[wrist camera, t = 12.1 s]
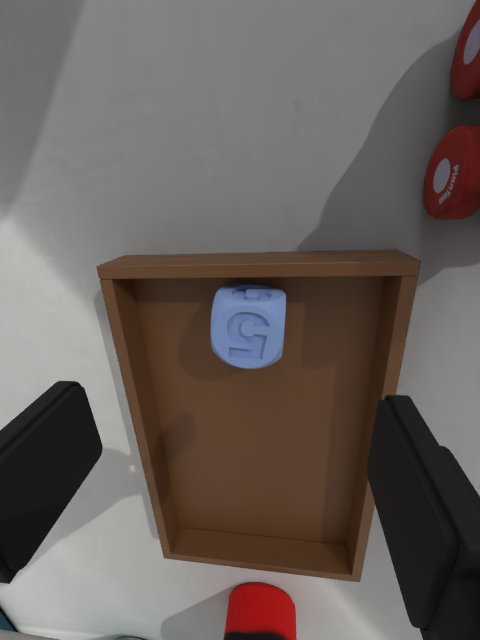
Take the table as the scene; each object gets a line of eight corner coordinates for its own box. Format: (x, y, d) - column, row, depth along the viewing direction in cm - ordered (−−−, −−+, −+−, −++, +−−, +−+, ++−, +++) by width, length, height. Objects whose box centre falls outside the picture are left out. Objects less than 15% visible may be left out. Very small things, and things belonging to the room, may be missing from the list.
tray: (123, 255, 20) (95, 266, 17) (397, 249, 18) (421, 260, 15) (175, 522, 31) (163, 558, 28) (351, 541, 28) (360, 582, 25)
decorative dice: (223, 336, 21) (210, 366, 17) (223, 280, 19) (209, 300, 15) (280, 340, 20) (280, 372, 17) (285, 283, 19) (286, 305, 15)
